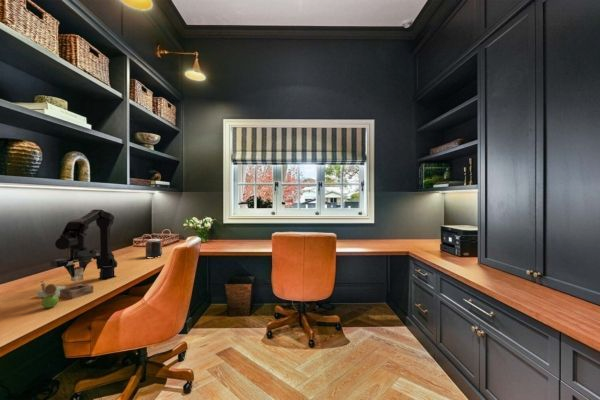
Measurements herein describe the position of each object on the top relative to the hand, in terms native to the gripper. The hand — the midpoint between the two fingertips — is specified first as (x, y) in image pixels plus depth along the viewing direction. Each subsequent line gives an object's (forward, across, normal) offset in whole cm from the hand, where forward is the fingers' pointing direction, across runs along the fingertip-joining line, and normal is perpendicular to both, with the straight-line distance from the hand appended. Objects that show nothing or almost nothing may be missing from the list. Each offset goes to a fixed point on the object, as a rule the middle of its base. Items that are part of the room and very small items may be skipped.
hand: (77, 276), depth 125 cm
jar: (+10, +76, +36) cm, 85 cm away
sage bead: (+9, -4, +12) cm, 16 cm away
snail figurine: (+9, -14, -6) cm, 18 cm away
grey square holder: (+9, 0, 0) cm, 9 cm away
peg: (+2, 0, 0) cm, 2 cm away
